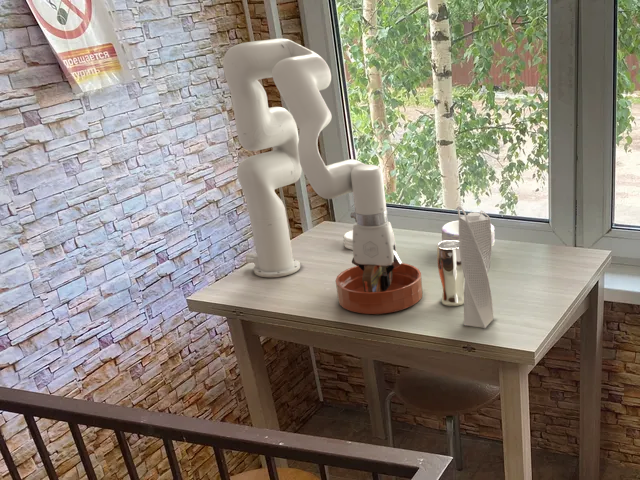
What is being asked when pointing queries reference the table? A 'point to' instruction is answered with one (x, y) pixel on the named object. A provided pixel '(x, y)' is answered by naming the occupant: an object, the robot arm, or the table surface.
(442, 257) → the chrome tumbler
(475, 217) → the skyscraper
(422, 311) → the table surface
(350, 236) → the coaster
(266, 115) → the robot arm
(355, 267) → the bowl
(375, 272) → the tin
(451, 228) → the paper bowls
